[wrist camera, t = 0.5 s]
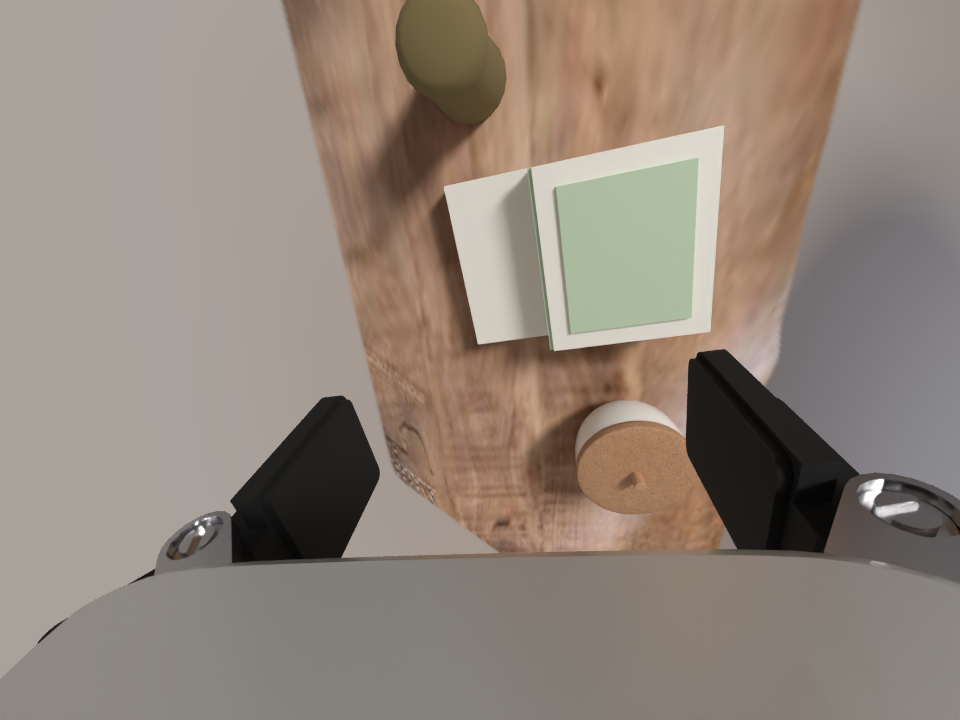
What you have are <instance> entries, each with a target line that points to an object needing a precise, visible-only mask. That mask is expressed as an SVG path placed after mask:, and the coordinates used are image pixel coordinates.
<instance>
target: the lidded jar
mask: <svg viewBox="0 0 960 720" xmlns="http://www.w3.org/2000/svg"><path fill="white" fill-rule="evenodd" d="M575 458H576V476H577V481H578V484H579V486H580V488H581V490H582V492H583V493H584V494H585V495H586V497H588V498H589V499H590V500H591V501H592V502H594V503H595V504H597V505H598V506H600V507H602V508H604V509H606V510H610V511H613V512H617V513H621V514H645V513H651V512H655V511H659V510H661V509H664V508H666V507H668V506H671V505H673V504H674V503H676V502H677V501H679V500H680V499H681V498H682V497H683V496H685V495H686V494H687V492H688V491H689V490H690V489H691V487H692V485H693V484H694V482H695V479H696V476H697V472H696V471H695V469H694V467H693V465H692V463H691V461H690V459H689V457H688V454H687V450H686V439H685V438H684V436H683V435H682V433H681V431H680V430H679V428H678V427H677V426H676V425H675V424H674V423H673V421H672V420H671V419H670V418H669V417H668V416H667V415H665V414H664V413H663V412H662V411H660V410H659V409H657V408H655V407H653V406H651V405H649V404H647V403H644V402H641V401H636V400H616V401H612V402H609V403H606V404H603V405H601V406H599V407H598V408H596V409H595V410H594V411H593V412H591V413H590V414H589V415H588V416H587V417H586V419H585V420H584V421H583V423H582V425H581V427H580V429H579V431H578V434H577V439H576V445H575Z"/></svg>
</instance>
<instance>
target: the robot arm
mask: <svg viewBox="0 0 960 720" xmlns="http://www.w3.org/2000/svg"><path fill="white" fill-rule="evenodd" d="M686 450H687V454H688V457H689V459H690V461H691V463H692V465H693V467H694V469H695V471H696V472H697V474H698V476H699V478H700V480H701V482H702V484H703V486H704V487H705V489H706V491H707V493H708V495H709V497H710V499H711V501H712V502H713V504H714V506H715V508H716V510H717V512H718V514H719V516H720V517H721V519H722V521H723V523H724V525H725V527H726V529H727V531H728V532H729V534H730V536H731V538H732V540H733V542H734V544H735V546H736V547H737V549H696V550H623V551H576V552H530V553H494V554H493V553H492V554H457V555H456V554H454V555H419V556H385V557H357V558H356V557H355V558H341V557H342V555H343V553H344V551H345V549H346V547H347V544H348V542H349V540H350V538H351V536H352V534H353V532H354V530H355V528H356V526H357V524H358V522H359V520H360V517H361V515H362V513H363V511H364V509H365V507H366V505H367V503H368V501H369V499H370V497H371V495H372V493H373V491H374V489H375V486H376V484H377V482H378V480H379V476H380V471H379V467H378V464H377V462H376V460H375V457H374V455H373V452H372V450H371V448H370V445H369V443H368V440H367V438H366V436H365V433H364V431H363V428H362V426H361V423H360V421H359V419H358V416H357V414H356V411H355V409H354V407H353V404H352V402H351V401H350V400H346V398H345V397H344V396H333V397H325V398H322V399H321V400H320V401H319V402H318V403H317V404H316V405H315V406H314V407H313V408H312V410H311V411H310V412H309V413H308V414H307V415H306V416H305V418H304V419H303V420H302V421H301V422H300V423H299V424H298V425H297V426H296V428H295V429H294V430H293V431H292V432H291V433H290V434H289V435H288V437H287V438H286V439H285V440H284V441H283V442H282V443H281V445H279V447H278V448H277V449H276V450H275V451H274V452H273V453H272V455H271V456H270V457H269V458H268V459H267V460H266V461H265V462H264V463H263V465H262V466H261V467H260V468H259V469H258V470H257V471H256V473H254V475H253V476H252V477H251V478H250V479H249V480H248V481H247V482H246V483H245V485H244V486H243V487H242V488H241V489H240V490H239V491H238V492H237V494H236V495H235V496H234V497H233V498H232V499H231V501H230V502H231V503H232V504H233V506H234V508H235V509H236V513H235V514H234V515H233V516H232V517H231V516H230V514H228V513H227V512H225V511H216V512H212V513H208V514H205V515H203V516H200V517H198V518H196V519H195V520H193V521H191V522H189V523H188V524H186V525H185V526H183V527H182V528H181V529H179V530H178V531H177V532H176V533H175V534H174V535H173V536H172V537H171V538H169V539H168V541H167V542H166V543H165V545H164V546H163V547H162V549H161V551H160V553H159V555H158V559H157V564H156V568H155V569H154V570H152V571H151V572H149V573H147V574H145V575H144V576H142V577H140V578H138V579H136V580H135V581H133V582H131V583H130V584H128V585H126V586H123V587H120V588H118V589H116V590H114V591H112V592H110V593H107V594H105V595H103V596H102V597H100V598H98V599H96V600H94V601H92V602H90V603H88V604H87V605H85V606H84V607H82V608H80V609H79V610H78V611H76V612H75V613H74V614H72V615H71V616H70V617H69V618H67V619H65V620H63V621H62V622H60V623H58V624H57V625H55V626H54V627H53V628H52V629H50V630H49V631H48V632H47V633H46V634H45V635H44V636H43V637H42V638H41V639H40V640H39V642H38V644H37V645H36V646H35V647H34V648H33V649H32V650H31V651H30V652H29V653H28V654H27V655H25V656H24V657H23V658H22V659H21V660H20V661H19V662H18V663H17V664H16V665H15V666H14V667H13V668H12V669H10V670H9V671H8V672H7V673H6V674H5V675H4V676H3V677H2V678H1V679H0V720H960V500H959V499H957V498H956V497H954V496H953V495H951V494H949V493H947V492H945V491H943V490H941V489H939V488H937V487H935V486H933V485H930V484H927V483H925V482H922V481H919V480H916V479H913V478H909V477H904V476H900V475H895V474H886V473H868V474H859V473H858V472H857V471H856V470H855V469H854V468H852V467H851V466H850V465H849V464H848V463H847V462H846V461H845V460H844V459H843V458H842V457H841V456H840V455H839V454H838V453H837V452H836V451H835V450H834V449H832V448H831V447H830V446H829V445H828V444H827V443H826V442H825V441H824V440H823V439H822V438H821V437H820V436H819V435H818V434H817V433H816V432H814V431H813V430H812V429H811V428H810V427H809V426H808V425H807V424H806V423H805V422H804V421H803V420H802V419H801V418H800V417H799V416H798V415H796V413H795V412H794V411H792V410H791V409H790V408H789V407H788V406H787V405H786V404H785V403H784V402H783V401H781V400H780V399H779V398H776V397H774V395H773V394H772V393H771V392H769V391H768V390H767V389H766V388H765V387H764V386H763V385H762V384H761V383H760V382H759V381H758V380H757V379H756V378H755V377H754V376H753V375H752V374H751V373H750V372H749V371H748V370H747V369H746V368H744V367H743V366H742V365H741V364H740V363H739V362H738V361H737V360H736V359H735V358H734V357H733V356H732V355H731V354H730V353H729V352H728V351H727V350H725V349H722V350H713V351H705V352H699V353H698V354H697V356H696V358H695V359H690V361H689V366H688V394H687V421H686Z"/></svg>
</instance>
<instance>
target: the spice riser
mask: <svg viewBox="0 0 960 720" xmlns="http://www.w3.org/2000/svg"><path fill="white" fill-rule="evenodd" d="M723 136H724V126H719V127H714V128H709V129H705V130H700V131H695V132H690V133H686V134H681V135H676V136H672V137H667V138H663V139H658V140H654V141H649V142H644V143H640V144H635V145H631V146H626V147H622V148H617V149H612V150H608V151H603V152H599V153H594V154H590V155H585V156H580V157H576V158H571V159H567V160H562V161H558V162H553V163H548V164H544V165H539V166H535V167H530V168H526V169H521V170H516V171H512V172H507V173H503V174H498V175H494V176H489V177H484V178H480V179H475V180H471V181H466V182H462V183H457V184H452V185H448V186H444V191H445V195H446V200H447V204H448V209H449V214H450V218H451V223H452V227H453V232H454V236H455V241H456V246H457V250H458V255H459V259H460V264H461V269H462V273H463V278H464V282H465V287H466V292H467V296H468V301H469V305H470V310H471V315H472V319H473V324H474V328H475V333H476V338H477V342H478V344H485V343H493V342H501V341H508V340H516V339H523V338H531V337H539V336H546V335H548V337H549V344H550V350H554V351H559V350H567V349H575V348H583V347H591V346H599V345H607V344H616V343H624V342H632V341H640V340H648V339H656V338H664V337H672V336H680V335H688V334H696V333H705V332H710V326H711V312H712V297H713V282H714V268H715V253H716V238H717V224H718V209H719V194H720V180H721V165H722V150H723Z"/></svg>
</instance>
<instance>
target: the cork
mask: <svg viewBox="0 0 960 720" xmlns="http://www.w3.org/2000/svg"><path fill="white" fill-rule="evenodd" d="M395 45H396V50H397V54H398V59H399V63H400V66H401V68H402V70H403V72H404V74H405V76H406V78H407V80H408V82H409V83H410V84H411V85H412V86H413V87H414V88H415V89H416V90H417V91H418V92H419V93H421V94H422V95H424V96H426V97H428V98H429V99H431V100H433V101H435V103H436V105H437V107H438V108H439V109H440V111H441V112H442V113H443V114H444V115H445V116H446V117H447V118H449V119H451V120H452V121H454V122H456V123H459V124H465V125H471V124H475V123H480V122H481V121H483V120H485V119H486V118H488V117H489V116H491V114H492V113H493V112H494V111H495V109H496V108H497V107H498V106H499V104H500V101H501V99H502V97H503V94H504V91H505V84H506V71H505V62H504V60H503V58H502V55H501V53H500V50H499V48H498V47H497V46H496V45H495V43H494V42H493V41H492V40H491V39H490V37H488V33H487V26H486V23H485V21H484V18H483V16H482V13H481V11H480V8H479V6H478V5H477V4H476V3H475V1H474V0H407V1H406V2H405V4H404V6H403V7H402V9H401V11H400V15H399V18H398V22H397V25H396V44H395Z"/></svg>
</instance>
